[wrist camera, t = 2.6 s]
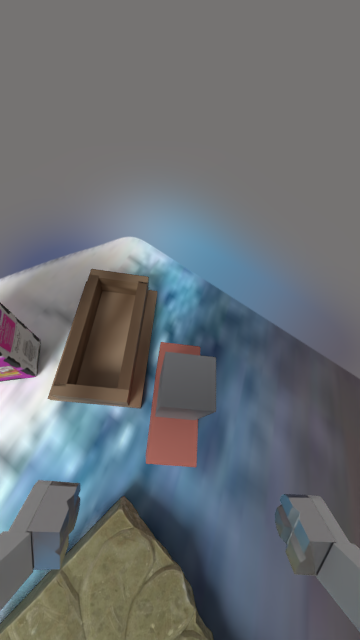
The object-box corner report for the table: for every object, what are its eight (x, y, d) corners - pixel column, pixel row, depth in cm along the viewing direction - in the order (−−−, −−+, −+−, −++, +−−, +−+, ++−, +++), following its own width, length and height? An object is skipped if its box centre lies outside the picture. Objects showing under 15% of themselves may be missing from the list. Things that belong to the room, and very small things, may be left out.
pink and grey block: (183, 374, 29) (219, 313, 15) (178, 457, 25) (221, 480, 11) (156, 372, 29) (166, 306, 15) (145, 455, 25) (146, 475, 10)
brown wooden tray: (157, 295, 34) (158, 278, 30) (140, 408, 27) (139, 403, 23) (87, 285, 33) (81, 267, 30) (51, 399, 26) (36, 393, 22)
